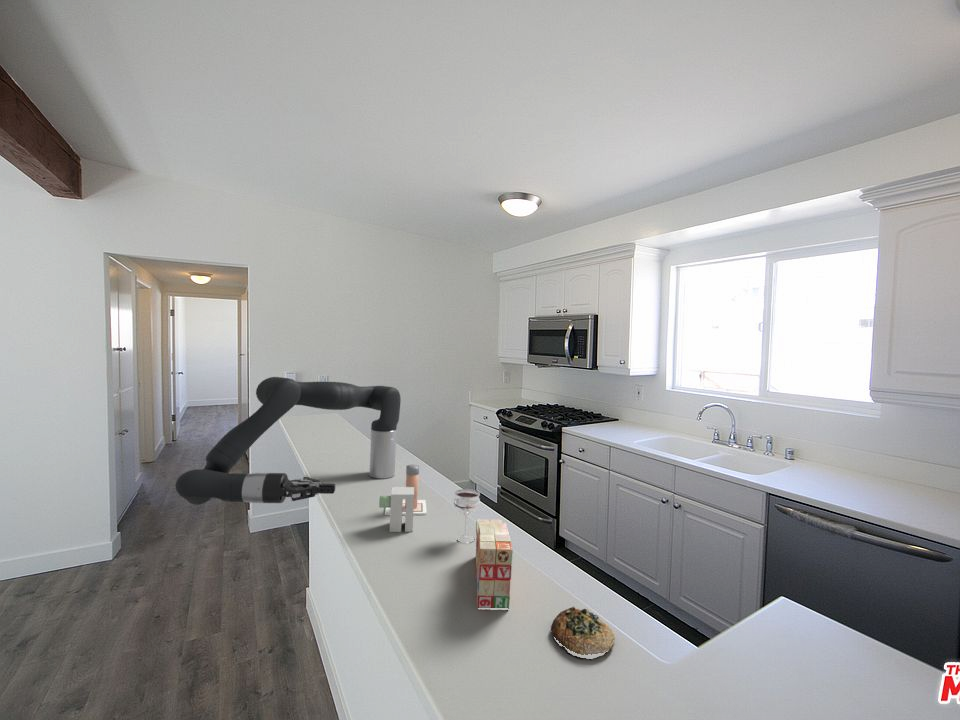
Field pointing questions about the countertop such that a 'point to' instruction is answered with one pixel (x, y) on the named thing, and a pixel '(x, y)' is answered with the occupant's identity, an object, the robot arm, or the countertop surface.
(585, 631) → the bread roll
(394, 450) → the robot arm
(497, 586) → the stack of blocks
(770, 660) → the countertop surface
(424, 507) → the white square board
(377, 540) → the countertop surface
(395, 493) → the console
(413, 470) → the terracotta marker
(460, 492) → the wineglass
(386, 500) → the button
